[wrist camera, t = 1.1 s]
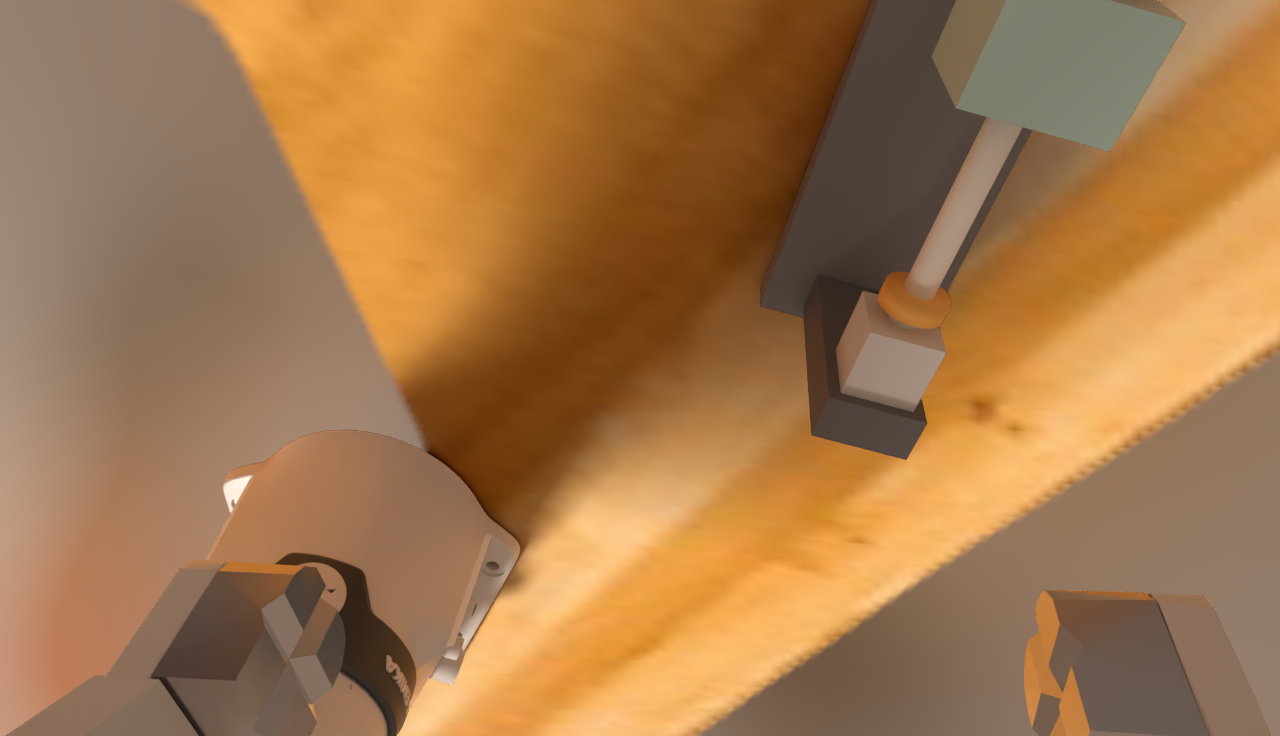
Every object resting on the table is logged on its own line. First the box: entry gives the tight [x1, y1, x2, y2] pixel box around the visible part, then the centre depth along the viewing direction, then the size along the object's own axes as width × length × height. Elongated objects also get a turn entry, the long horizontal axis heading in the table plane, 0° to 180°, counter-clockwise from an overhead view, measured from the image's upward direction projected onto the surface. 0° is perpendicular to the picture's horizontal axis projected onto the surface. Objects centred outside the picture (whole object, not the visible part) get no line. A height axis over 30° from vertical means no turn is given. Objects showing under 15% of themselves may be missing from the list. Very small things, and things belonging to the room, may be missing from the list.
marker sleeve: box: [932, 0, 1186, 152], centre depth 29 cm, size 4×5×5 cm
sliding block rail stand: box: [760, 0, 1032, 460], centre depth 35 cm, size 22×8×11 cm, turn 166°
